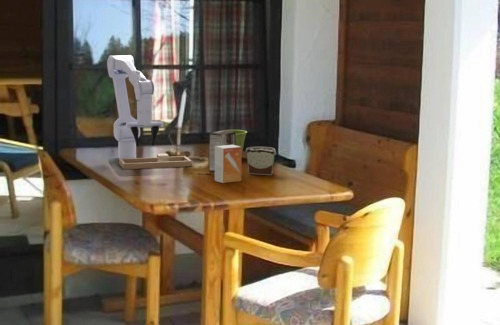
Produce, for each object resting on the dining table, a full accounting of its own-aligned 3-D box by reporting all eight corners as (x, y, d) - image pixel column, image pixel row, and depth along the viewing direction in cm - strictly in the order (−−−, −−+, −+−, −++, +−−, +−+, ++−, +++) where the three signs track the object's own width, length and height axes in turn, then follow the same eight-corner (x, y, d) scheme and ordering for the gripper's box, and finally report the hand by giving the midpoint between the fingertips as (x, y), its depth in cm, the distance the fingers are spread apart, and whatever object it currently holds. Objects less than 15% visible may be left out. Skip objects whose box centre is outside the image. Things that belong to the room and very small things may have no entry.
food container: (280, 172, 350) (280, 147, 348) (275, 175, 344) (275, 149, 342) (250, 170, 354) (250, 145, 352) (245, 173, 348) (245, 147, 346)
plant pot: (214, 159, 380) (214, 132, 378) (226, 154, 391) (226, 129, 389) (240, 160, 376) (240, 134, 374) (251, 156, 386) (251, 130, 385)
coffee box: (223, 170, 354) (223, 129, 351) (236, 172, 350) (236, 131, 348) (208, 173, 347) (208, 132, 344) (222, 175, 343) (222, 133, 340)
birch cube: (156, 163, 359) (156, 154, 358) (166, 163, 360) (166, 153, 360) (158, 165, 355) (158, 155, 355) (168, 165, 356) (168, 155, 356)
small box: (223, 183, 328) (223, 148, 326) (214, 180, 333) (214, 146, 331) (241, 181, 332) (242, 146, 330) (232, 178, 338) (232, 144, 335)
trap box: (119, 167, 359) (119, 158, 359) (185, 164, 367) (185, 156, 366) (123, 172, 348) (123, 163, 347) (191, 169, 355) (191, 160, 355)
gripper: (127, 112, 346) (128, 147, 349) (164, 111, 350) (165, 146, 353) (124, 110, 353) (125, 145, 356) (161, 109, 357) (161, 143, 359)
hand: (145, 145), depth 355 cm, fingers open, 5 cm apart
